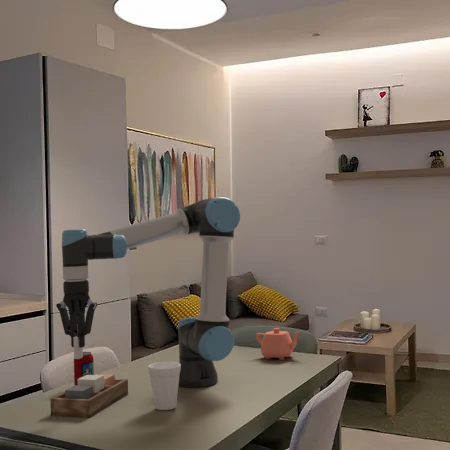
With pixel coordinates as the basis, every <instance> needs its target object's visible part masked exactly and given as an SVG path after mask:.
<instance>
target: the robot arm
mask: <svg viewBox="0 0 450 450" xmlns="http://www.w3.org/2000/svg"><path fill="white" fill-rule="evenodd" d="M240 220H241V213H240V210H239V207H238V205H237V204H236V202H234V201H233V200H232V199H230V198H228V197H224V196H223V197H222V196H214V197H211V198H205V199H201V200H198V201H196V202H193V203H191V204H189V205H185V206H183V207H180V208H177V209H176V211H175V212H173V213H168V214H166V215H162V216H159V217H155V218H152V219H148V220H143V221H141V222H136V223H134V224H130V225H127V226H123V227H120V228H116V229H111V230H109V231H104V232H102V233H99V234H91V235H89V234H88V231H87V230H86V229H85V228H83V229H65V230H63V231H62V234H61V255H62V257H61V258H62V279H63V282H62V283H63V284H62V287H63V294H64V295H63V298H62V300H61V301H60V302H59V303H58V302H57V303H56V304H55V305H56V308H57V310H58V311H59V315H60V319H61V323H62V327H63V330H64V334H65V335H68V336H69V337H70V343H71V344H70V346H71V348H73V360H74V359H80V358H82V357H83V352H84V349H83V348H84V347H85V345H86V336H87V335H90V334H91V331H92V326H93V322H94V321H93V320H94V316H95V315H94V314H95V310H96V308H97V307H98V302H93V300H91V296H90V295H89V293H90V283H89V282H90V281H89V280H87V279H89V261H90V260H91V261H92V260H112V259H114V260H117V259H123V258H124V257H126V255H127V250H128V249H133V248H137V247H141V246H143V245H146V244H150V243H154V242H157V241H160V240H163V239H167V238H170V237H174V236H177V235H180V234H182V235H184V236H188V235H190V234H196V233H197V234H198V236H199V238H200V239H201V241H202V261H201V262H202V266H201V267H202V268H201V280H200V281H201V284H200V302H199V303H200V304H199V305H200V307H199V313H198V314H197V315H196V316H195V317H184V318H180V319H179V320H178V325H177V326H178V327H177V331H178V334H177V335H178V355H179V356H178V359H179V361H178V363H180V364H181V370H180V375H179V384H178V387H184V388H201V387H202V388H203V387H210V386H212V385H213V386H214V385H215V384H217V383H218V381H219V380H218V379H219V377H218V371H217V370H216V367H215V364H214V362H220V361H222V360H224V359H225V358H227V357H228V356H229V355H230V354H231V353H232V351H233V348H234V345H235V337H234V334H233V333H232V331H231V329H230V320H231V319H230V318H229V317H228V316H227V314H226V305H227V287H228V286H227V285H228V265H229V248H230V247H229V246H230V242H232V240H233V239H234V238H235V237H234V235H235V234H234V233H235V229H236V228H237V227H238V225H239V224H240ZM86 308H87V310H86ZM67 309H68V310H67ZM85 313H86V315H85Z"/></svg>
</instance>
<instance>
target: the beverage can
mask: <svg viewBox="0 0 450 450" xmlns="http://www.w3.org/2000/svg"><path fill="white" fill-rule="evenodd" d="M94 364H95V363H94V356H93V354H92V352H91V351H83V357H82V358H80V359H74V358H73V378H74V380H73V381H74V383H73V384H74V386H75V385H78V379H79V378H81V377H83V376H85V375H95V365H94Z"/></svg>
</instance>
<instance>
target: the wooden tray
mask: <svg viewBox="0 0 450 450" xmlns="http://www.w3.org/2000/svg"><path fill="white" fill-rule="evenodd" d="M128 395H129V379H128V378H115V385H113V386H106V385H104V388H103V389H102V390H100V391H98V392H93V397H91V398H90V399H71V398H65V391H63V392H61V393H58V394H57V395H55V396H53V397H51V398H50V399H49V400H50V401H49V402H50V416H54V417H67V418H70V417H71V418H85V419H86V418H88V419H91V418H92V417H94V416H95V415H97V414H99V413H100V412H102V411H103V410H105V409H107V408H109V407H110V406H112V405H113V404H115V403H116V402H118V401H120V400H122V399H123V398H125V397H126V396H128Z"/></svg>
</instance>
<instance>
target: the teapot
mask: <svg viewBox="0 0 450 450" xmlns="http://www.w3.org/2000/svg"><path fill="white" fill-rule="evenodd" d="M300 332H302V331H301V330H300V331H295V332H294V333H293V336H292V337H291V336H290V333H289V331H285V330H281V329H280V328H279V327H275V328H274V327H273V329H272V330H271V331H270V330H269V331H266V332H265V333H263V332H257V333H256V334H255V338H256V340H257V341H258V343H259V344H260V346H261V347H260V353H261V355H262V356H263V358H264V357H265V360H271V359H272V358H275V359H276V358H278V360H279V361H284V360H285V359H286V358H289V357H290V356H291V355H292V353H293V351H294V349H295V348H296V346H297V344H298V335H299V333H300ZM261 336H262V338H261Z"/></svg>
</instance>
